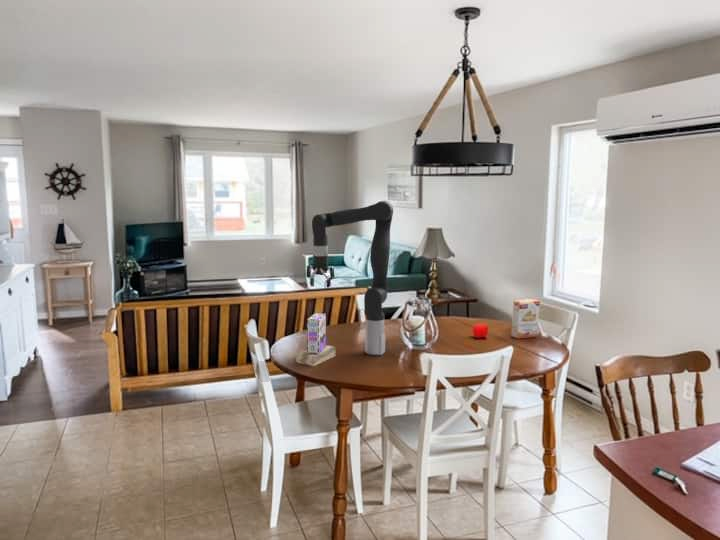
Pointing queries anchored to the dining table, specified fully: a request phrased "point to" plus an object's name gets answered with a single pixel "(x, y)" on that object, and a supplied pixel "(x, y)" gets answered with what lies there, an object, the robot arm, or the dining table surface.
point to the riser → (315, 356)
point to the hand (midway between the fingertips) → (320, 286)
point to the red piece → (480, 331)
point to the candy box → (316, 333)
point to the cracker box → (525, 318)
